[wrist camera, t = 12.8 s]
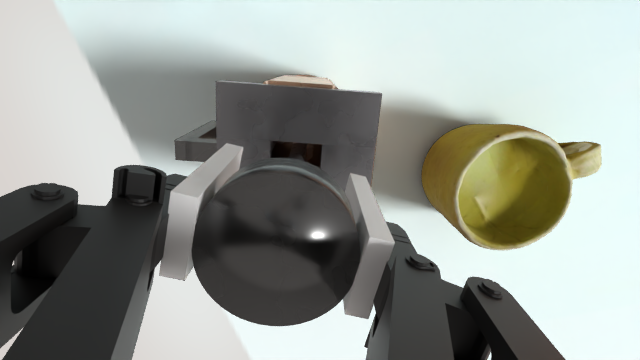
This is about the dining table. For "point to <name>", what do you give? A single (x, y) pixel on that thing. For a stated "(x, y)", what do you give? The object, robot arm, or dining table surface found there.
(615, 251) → the dining table surface
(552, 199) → the mug
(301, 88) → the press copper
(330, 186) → the plunger copper
